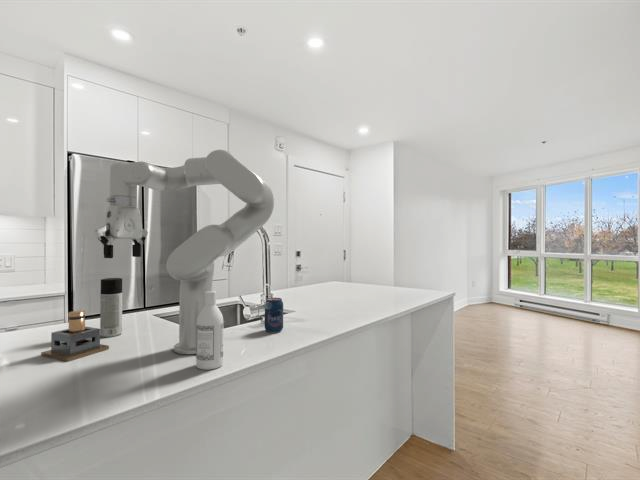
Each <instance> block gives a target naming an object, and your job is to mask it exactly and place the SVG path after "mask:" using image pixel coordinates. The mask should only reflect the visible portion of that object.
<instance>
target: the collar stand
mask: <svg viewBox="0 0 640 480" xmlns="http://www.w3.org/2000/svg"><path fill="white" fill-rule="evenodd" d="M50 336H51V337H50V338H51V339H50V340H51V341H50V345H51V346H50V347H51V348H50V349H49V350H46V351H45V350H44V351H41V352H40V357H45V358H50V359H53V360H58V361H59V360H60V361H63V362H72V361H75V360H78V359H80V358H85V357H87V356H90V355H94V354H96V353H97V354H98V353H101V352H105V351H107V350H109V349H110V346H109V345H107V344H101V336H100V328H97V327H91V326H85V331H83V332H79V333H75V334H69V328H67V329H62V330H58V331H53V332H51V335H50ZM84 339H85V343H82V344H78V345H76V341H80V340H84Z"/></svg>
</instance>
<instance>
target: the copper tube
mask: <svg viewBox="0 0 640 480" xmlns="http://www.w3.org/2000/svg"><path fill="white" fill-rule="evenodd" d="M67 315H68V329H69V334H75V333H79V332H83V331H85V327H86V312H85V310H74V311H69V312H68V313H67ZM82 343H85V339H84V340H80V341H76V345H78V344H82Z"/></svg>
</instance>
